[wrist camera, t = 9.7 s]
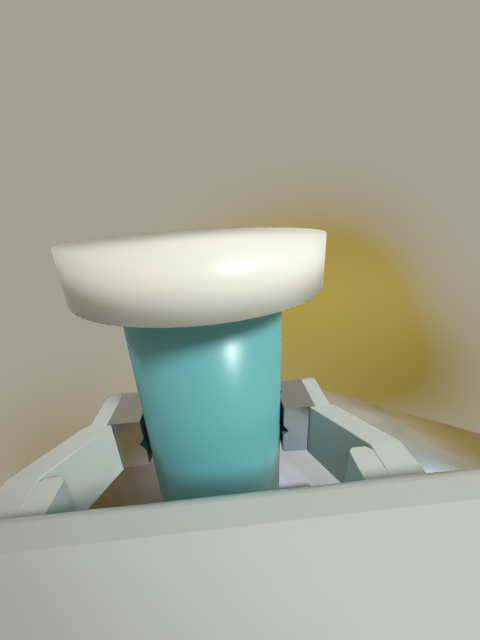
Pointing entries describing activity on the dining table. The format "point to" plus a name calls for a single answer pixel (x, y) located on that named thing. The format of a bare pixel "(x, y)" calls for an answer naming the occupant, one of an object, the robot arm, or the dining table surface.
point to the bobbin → (201, 341)
